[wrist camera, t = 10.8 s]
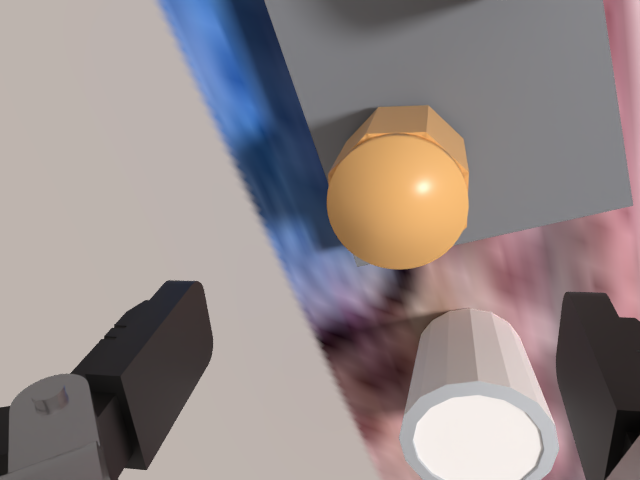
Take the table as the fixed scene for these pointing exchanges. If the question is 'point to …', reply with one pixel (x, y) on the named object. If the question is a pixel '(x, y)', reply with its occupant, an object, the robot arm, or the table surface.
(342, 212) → the orange wire cap
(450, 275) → the table surface
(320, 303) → the table surface
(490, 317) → the white tapered cup
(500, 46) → the plate
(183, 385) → the robot arm
